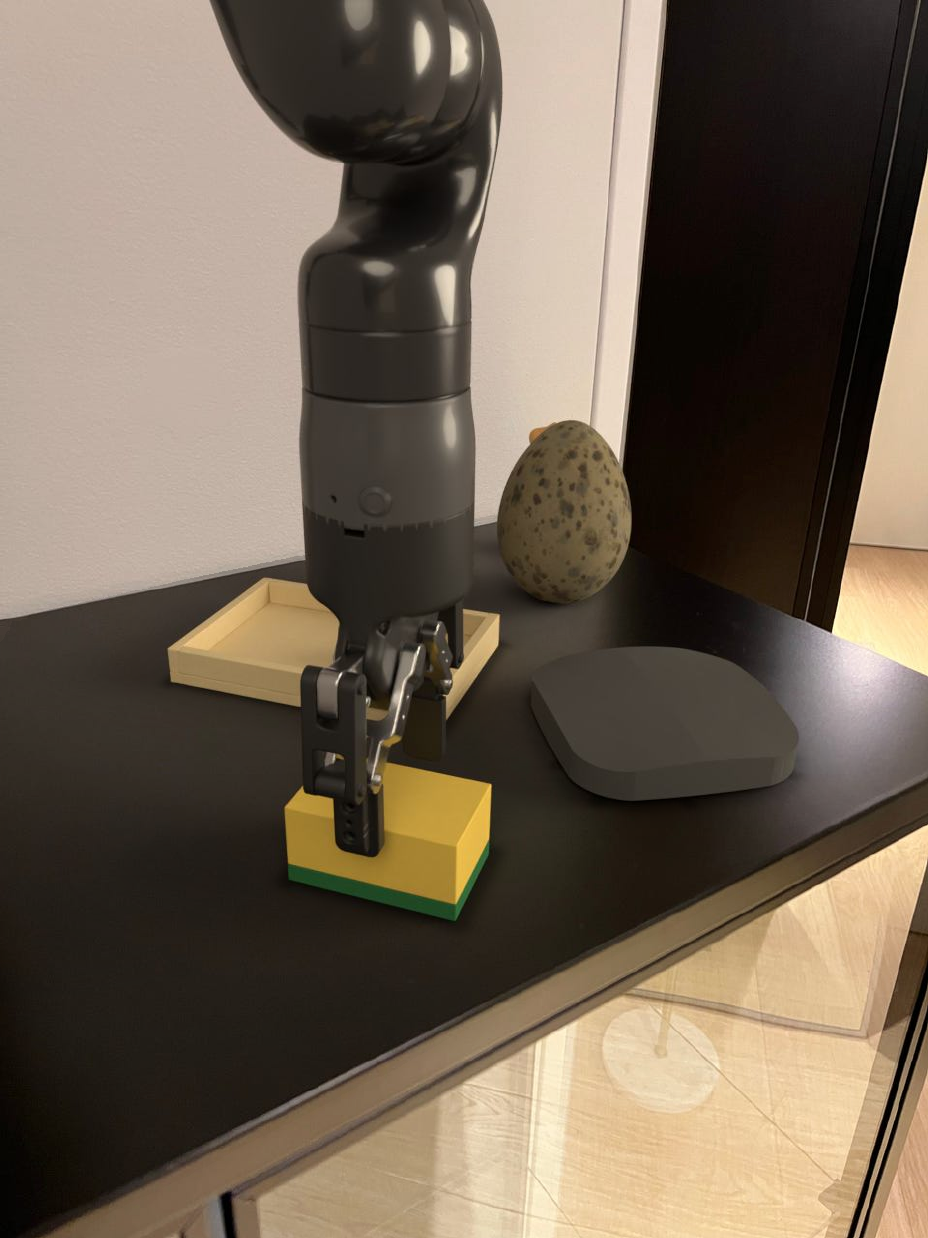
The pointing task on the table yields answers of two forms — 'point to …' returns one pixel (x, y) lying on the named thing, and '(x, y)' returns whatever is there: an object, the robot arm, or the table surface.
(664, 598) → the table surface
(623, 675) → the media streaming box
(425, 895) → the sponge
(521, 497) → the decorative egg
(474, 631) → the tray
